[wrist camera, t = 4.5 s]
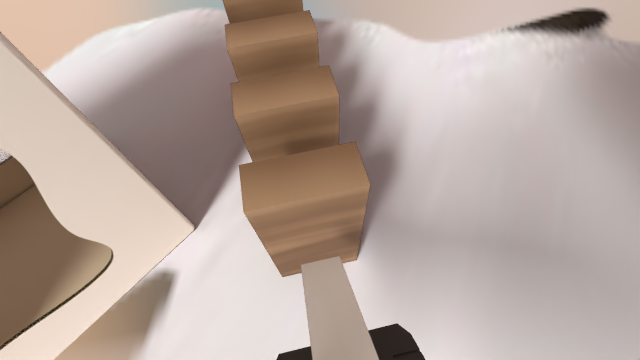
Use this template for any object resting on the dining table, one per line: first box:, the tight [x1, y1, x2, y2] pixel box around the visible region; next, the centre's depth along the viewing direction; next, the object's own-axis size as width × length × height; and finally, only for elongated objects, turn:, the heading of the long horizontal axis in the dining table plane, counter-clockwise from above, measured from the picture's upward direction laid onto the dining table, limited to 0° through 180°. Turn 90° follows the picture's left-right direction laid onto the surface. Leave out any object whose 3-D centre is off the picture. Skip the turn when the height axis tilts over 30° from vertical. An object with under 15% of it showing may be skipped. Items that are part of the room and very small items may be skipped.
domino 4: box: [239, 142, 370, 277], centre depth 17 cm, size 2×5×10 cm, turn 102°
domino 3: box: [231, 66, 339, 162], centre depth 20 cm, size 2×5×10 cm, turn 102°
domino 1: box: [223, 0, 303, 24], centre depth 25 cm, size 2×5×10 cm, turn 102°
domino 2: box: [225, 10, 319, 82], centre depth 22 cm, size 2×5×10 cm, turn 102°
